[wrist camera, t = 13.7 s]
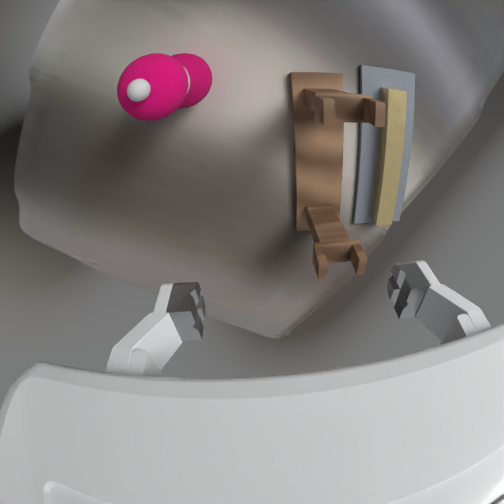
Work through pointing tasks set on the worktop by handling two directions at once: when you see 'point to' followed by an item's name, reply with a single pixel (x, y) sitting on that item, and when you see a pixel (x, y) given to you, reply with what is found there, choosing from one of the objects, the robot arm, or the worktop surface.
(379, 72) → the slate mat
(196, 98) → the pepper mill
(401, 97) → the brass rail
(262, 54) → the worktop surface
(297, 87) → the stand
